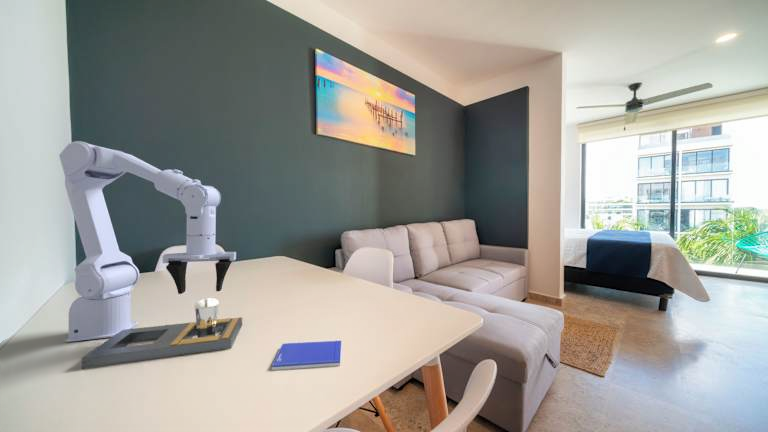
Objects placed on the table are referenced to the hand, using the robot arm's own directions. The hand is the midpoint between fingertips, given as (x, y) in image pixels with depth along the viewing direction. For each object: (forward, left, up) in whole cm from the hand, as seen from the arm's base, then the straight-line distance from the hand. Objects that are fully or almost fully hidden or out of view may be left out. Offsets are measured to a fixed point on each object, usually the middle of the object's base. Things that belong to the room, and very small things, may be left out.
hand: (200, 291), depth 63 cm
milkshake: (+3, -6, -10) cm, 12 cm away
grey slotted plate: (-3, -5, -10) cm, 11 cm away
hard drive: (+24, -19, -10) cm, 33 cm away
